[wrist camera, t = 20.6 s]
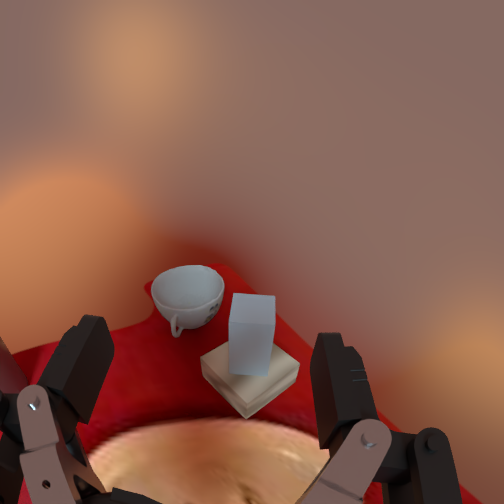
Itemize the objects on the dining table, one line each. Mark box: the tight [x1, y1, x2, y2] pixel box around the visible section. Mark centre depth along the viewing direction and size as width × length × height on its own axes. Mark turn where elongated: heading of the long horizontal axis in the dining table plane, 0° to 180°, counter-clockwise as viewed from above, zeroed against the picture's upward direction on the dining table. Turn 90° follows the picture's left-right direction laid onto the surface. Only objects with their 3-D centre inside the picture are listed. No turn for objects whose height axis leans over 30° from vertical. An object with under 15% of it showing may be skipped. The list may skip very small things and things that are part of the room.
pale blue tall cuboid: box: [229, 293, 275, 376], centre depth 38 cm, size 5×5×10 cm
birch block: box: [200, 341, 300, 419], centre depth 41 cm, size 10×10×5 cm
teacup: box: [151, 265, 224, 338], centre depth 50 cm, size 15×12×8 cm
